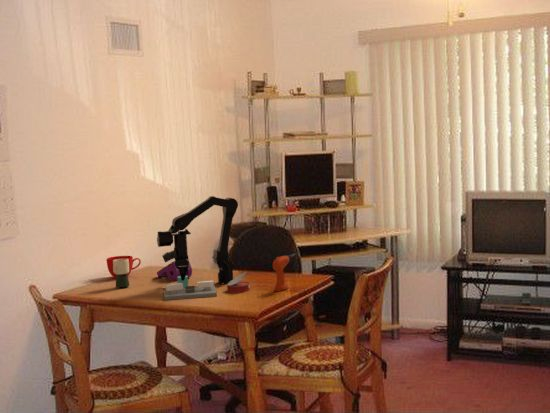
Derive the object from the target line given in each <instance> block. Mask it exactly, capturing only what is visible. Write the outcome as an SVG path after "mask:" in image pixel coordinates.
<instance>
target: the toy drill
mask: <svg viewBox="0 0 550 413" xmlns="http://www.w3.org/2000/svg"><path fill="white" fill-rule="evenodd" d="M294 256H296V253H295V252H294V253H292V254H288V255H287V254H286V255H281V256H277V257H276V258H275V259H274V260H273V262H272V268H273V270H274V271H275V274H276V284H275V286H274V288H273V289H274V291H275V292H282V291H281V290H284V291H286V290H285V289H287V290H289V286H290V285H288V284H286V281H285V272H284V269H285V267H286V266H287V265H288V264H289V262H290V261H291V260H292V257H294Z"/></svg>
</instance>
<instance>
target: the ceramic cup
mask: <svg viewBox="0 0 550 413" xmlns="http://www.w3.org/2000/svg"><path fill="white" fill-rule="evenodd" d="M116 259H128V260H129V273H127V276H128V277H129V276H130V274H131V273H132V271H133V270H135V269H137V268H138V267H140V265H141V263H142V261H141V259H140V258H139V257H135V258H134V257H133V255H117V256H116V255H115V256H110V257H107V258H106V266H107V270H108V272H109V274H110V275H111V276H112V277H113V278H114V279H116V276H117V274H115V273H114V272H113V260H116ZM136 260H138V263H137V265H136V266H134V262H135V261H136ZM133 266H134V267H133Z"/></svg>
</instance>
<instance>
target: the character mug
mask: <svg viewBox="0 0 550 413" xmlns="http://www.w3.org/2000/svg"><path fill="white" fill-rule="evenodd" d="M113 272H114V273H115V274H117V276H116V278H115V288H120V289H122V288H127V287H129V286H130V280H129V275H128V276H127V273H129V260H128V259H116V260H113Z"/></svg>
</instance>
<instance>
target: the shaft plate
mask: <svg viewBox="0 0 550 413" xmlns="http://www.w3.org/2000/svg"><path fill="white" fill-rule="evenodd" d="M196 283H197V286H196V285H188V286H185V288H183V284H182V283H178V284H177V283H172V284H171V283H170V284H166V285H165V289H164V295H163V296H164V297H163V299H164V301H172V300H184V299H186V300H187V299H199V298H207V297H208V298H212V297H213V298H214V297H217V296H218V295H217V290H216V286H215V283H214V280H205V281H204V280H203V281H197V282H196Z"/></svg>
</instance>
